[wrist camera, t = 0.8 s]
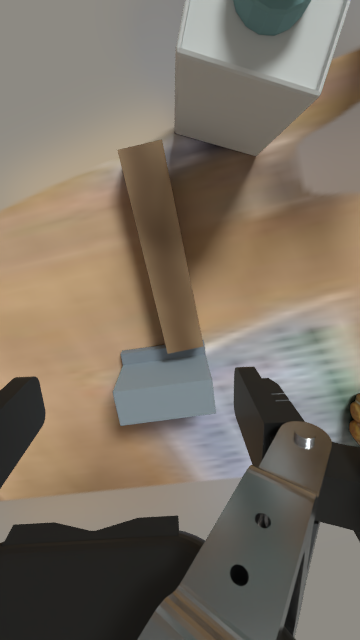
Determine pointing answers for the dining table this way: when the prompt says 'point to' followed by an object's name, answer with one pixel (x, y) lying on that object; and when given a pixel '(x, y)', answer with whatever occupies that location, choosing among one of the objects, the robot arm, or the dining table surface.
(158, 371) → the fulcrum ridge
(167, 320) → the walnut bar
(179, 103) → the soap bottle
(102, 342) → the dining table surface
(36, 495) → the dining table surface
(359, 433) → the ornament
